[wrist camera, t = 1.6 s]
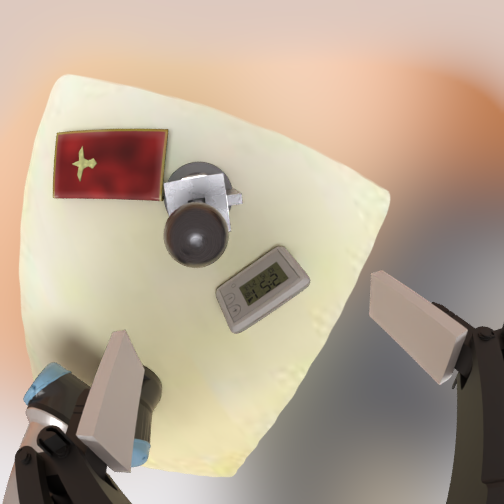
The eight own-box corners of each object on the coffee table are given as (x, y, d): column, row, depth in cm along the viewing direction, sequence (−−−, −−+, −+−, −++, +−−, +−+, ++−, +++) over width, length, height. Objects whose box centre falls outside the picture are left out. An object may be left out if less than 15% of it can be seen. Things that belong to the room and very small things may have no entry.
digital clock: (284, 240, 52) (304, 259, 42) (299, 279, 55) (319, 303, 46) (206, 276, 52) (209, 302, 42) (226, 312, 55) (232, 343, 45)
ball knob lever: (182, 225, 37) (167, 283, 19) (176, 189, 35) (152, 214, 17) (218, 219, 38) (236, 271, 20) (213, 183, 36) (226, 201, 18)
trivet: (171, 234, 48) (170, 235, 47) (159, 168, 44) (159, 168, 43) (236, 223, 49) (237, 224, 49) (227, 157, 46) (228, 157, 45)
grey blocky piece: (178, 224, 47) (171, 244, 35) (170, 176, 44) (159, 180, 32) (235, 214, 48) (248, 231, 36) (229, 167, 45) (240, 167, 33)
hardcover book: (164, 199, 46) (161, 202, 42) (62, 196, 42) (52, 199, 38) (170, 132, 43) (168, 129, 39) (66, 134, 38) (56, 132, 34)
